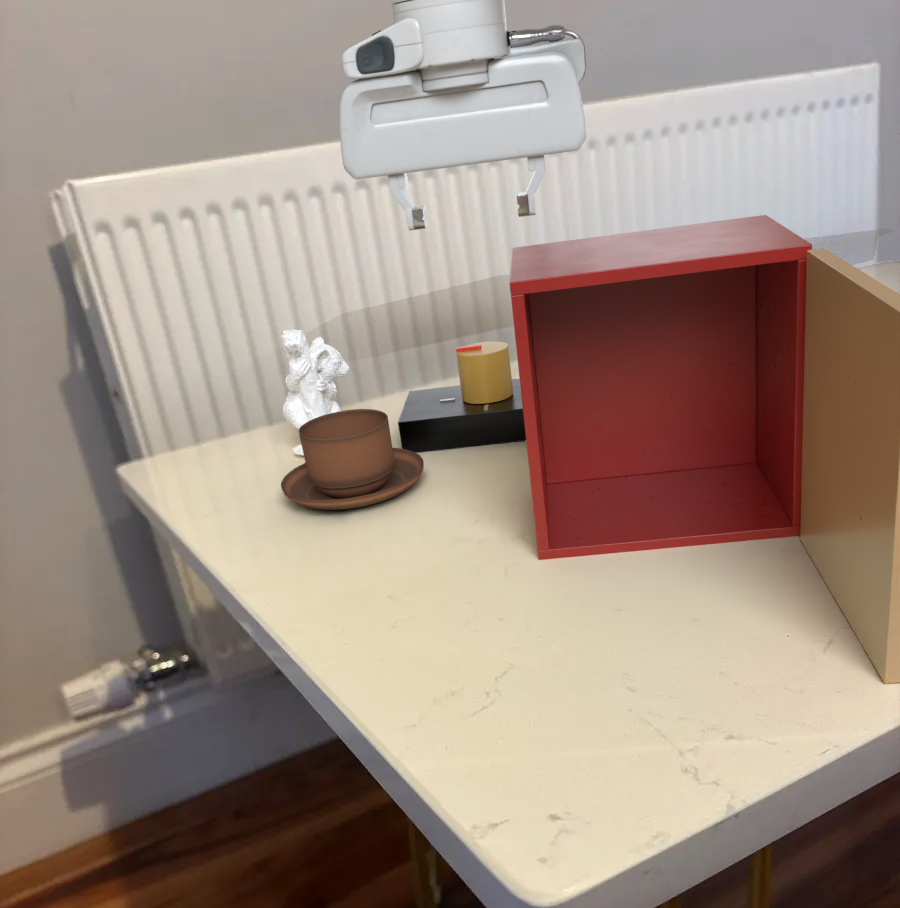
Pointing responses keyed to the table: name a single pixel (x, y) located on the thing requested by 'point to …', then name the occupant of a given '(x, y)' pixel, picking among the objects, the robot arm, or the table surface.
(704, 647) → the table surface
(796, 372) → the cabinet
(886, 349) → the cabinet door
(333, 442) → the cup and saucer
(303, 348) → the white sculpted figure
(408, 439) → the valve panel
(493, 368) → the valve knob
